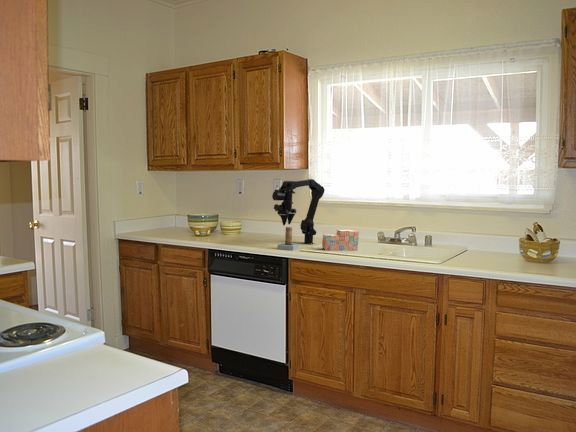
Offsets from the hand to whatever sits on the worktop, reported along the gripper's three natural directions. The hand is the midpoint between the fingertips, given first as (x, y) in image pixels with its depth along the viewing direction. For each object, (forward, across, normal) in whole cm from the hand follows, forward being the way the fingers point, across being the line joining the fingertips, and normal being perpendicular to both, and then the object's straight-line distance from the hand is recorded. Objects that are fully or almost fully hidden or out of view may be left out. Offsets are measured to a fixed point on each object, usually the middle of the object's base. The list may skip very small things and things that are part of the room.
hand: (286, 224), depth 332 cm
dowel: (+13, +14, +7) cm, 20 cm away
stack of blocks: (+13, -2, +35) cm, 38 cm away
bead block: (+13, +14, +7) cm, 20 cm away
